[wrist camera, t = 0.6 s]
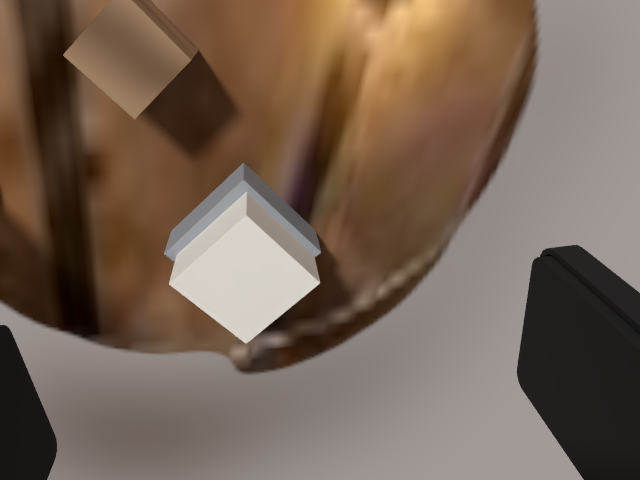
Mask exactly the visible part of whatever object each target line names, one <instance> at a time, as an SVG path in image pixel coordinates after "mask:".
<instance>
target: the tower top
mask: <svg viewBox="0 0 640 480" xmlns="http://www.w3.org/2000/svg"><path fill="white" fill-rule="evenodd" d="M319 284H320V279H319V275H318V270H317V266H316V262H315V257H314V254H313V253H312V252H310V251H309V250H308V249H307V248H306V247H305V246H304V245H303V244H302V243H301V242H300V241H299V240H298V239H297V238H296V237H295V236H294V235H292V234H291V233H290V232H289V231H288V230H287V229H286V228H285V227H284V226H283V225H282V224H281V223H280V222H279V221H278V220H277V219H276V218H274V217H273V216H272V215H271V214H270V213H269V212H268V211H267V210H266V209H265V208H264V207H263V206H262V205H261V204H260V203H259V202H258V201H257V200H255V199H254V198H253V197H252V196H251V195H250V194H249V193H248V192H245V193H244V194H243V195H242V196H241V197H240V198H239V199H238V200H237V201H236V202H234V203H233V204H232V205H231V206H230V207H229V208H228V209H227V210H226V211H224V212H223V213H222V214H221V215H220V216H219V217H218V218H217V219H216V220H215V221H213V222H212V223H211V224H210V225H209V226H208V227H207V228H206V229H205V230H203V231H202V232H201V233H200V234H199V235H198V236H197V237H196V238H195V239H194V240H192V241H191V242H190V243H189V244H188V245H187V246H186V247H185V248H184V249H182V250H181V251H180V252H179V253H178V254H177V256H176V260H175V263H174V267H173V271H172V275H171V278H170V282H169V285H171V286H172V287H173V288H175V289H176V290H177V291H178V292H180V293H181V294H182V295H184V296H185V297H186V298H188V299H189V300H190V301H191V302H193V303H194V304H195V305H197V306H198V307H199V308H200V309H202V310H203V311H204V312H206V313H207V314H208V315H210V316H211V317H212V318H213V319H215V320H216V321H217V322H219V323H220V324H221V325H222V326H224V327H225V328H226V329H228V330H229V331H230V332H232V333H233V334H234V335H235V336H237V337H238V338H239V339H241V340H242V341H243V342H245V343H248V342H249V341H250V340H251V339H252V338H254V337H255V336H256V335H257V334H259V333H260V332H261V331H262V330H264V329H265V328H266V327H267V326H268V325H270V324H271V323H272V322H273V321H275V320H276V319H277V318H278V317H279V316H281V315H282V314H283V313H284V312H286V311H287V310H288V309H289V308H291V307H292V306H293V305H294V304H295V303H297V302H298V301H299V300H300V299H302V298H303V297H304V296H305V295H307V294H308V293H309V292H310V291H311V290H313V289H314V288H315V287H316V286H318V285H319Z"/></svg>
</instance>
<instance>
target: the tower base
mask: <svg viewBox="0 0 640 480" xmlns="http://www.w3.org/2000/svg"><path fill="white" fill-rule="evenodd" d="M245 192H248V193H249V194H250V195H251V196H252V197H253V198H254V199H255V200H257V201H258V202H259V203H260V204H261V205H262V206H263V207H264V208H265V209H266V210H267V211H268V212H269V213H270V214H271V215H272V216H273V217H274V218H276V219H277V220H278V221H279V222H280V223H281V224H282V225H283V226H284V227H285V228H286V229H287V230H288V231H289V232H290V233H291V234H292V235H294V236H295V237H296V238H297V239H298V240H299V241H300V242H301V243H302V244H303V245H304V246H305V247H306V248H307V249H308V250H309V251H310V252H312V253H313V254H314V257H316V256H318V255H319V254H320V253H321V250H320V246H319V242H318V238H317V234H316V231H315V230H314V229H313V228H312V227H311V226H310V225H309V224H308V223H307V222H306V221H305V220H304V219H303V218H302V217H301V216H299V215H298V214H297V213H296V212H295V211H294V210H293V209H292V208H291V207H290V206H289V205H288V204H287V203H286V202H285V201H284V200H283V199H282V198H281V197H280V196H279V195H277V194H276V193H275V192H274V191H273V190H272V189H271V188H270V187H269V186H268V185H267V184H266V183H265V182H264V181H263V180H262V179H261V178H260V177H259V176H258V175H257V174H255V173H254V172H253V171H252V170H251V169H250V168H249V167H248V166H247V165H246V164H245V163H243V164H242V165H241V166H240V167H239V168H237V169H236V170H235V171H234V172H233V173H232V174H231V175H230V176H229V177H228V178H227V179H226V180H225V181H224V182H223V183H222V184H221V185H220V186H218V187H217V188H216V189H215V190H214V191H213V192H212V193H211V194H210V195H209V196H208V197H207V198H206V199H205V200H204V201H203V202H202V203H200V204H199V205H198V206H197V207H196V208H195V209H194V210H193V211H192V212H191V213H190V214H189V215H188V216H187V217H186V218H185V219H184V220H183V221H181V222H180V223H179V224H178V225H177V226H176V227H175V228H174V229H173V230H172V231H171V233H170V236H169V239H168V243H167V246H166V249H165V252H164V254H165V255H166V256H168V257H169V258H170V259H171V260H173V261H174V262H175V260H176V256H177V254H178V253H179V252H180V251H181V250H182V249H184V248H185V247H186V246H187V245H188V244H189V243H190V242H191V241H192V240H194V239H195V238H196V237H197V236H198V235H199V234H200V233H201V232H202V231H203V230H205V229H206V228H207V227H208V226H209V225H210V224H211V223H212V222H213V221H215V220H216V219H217V218H218V217H219V216H220V215H221V214H222V213H223V212H224V211H226V210H227V209H228V208H229V207H230V206H231V205H232V204H233V203H234V202H236V201H237V200H238V199H239V198H240V197H241V196H242V195H243V194H244V193H245Z"/></svg>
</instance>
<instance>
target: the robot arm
mask: <svg viewBox="0 0 640 480" xmlns="http://www.w3.org/2000/svg"><path fill="white" fill-rule="evenodd" d="M517 376H518V380H519V383H520V386H521V388H522V390H523V391H524V393H525V394H526V396H527V397H528V399H529V400H530V401H531V403H532V404H533V406H534V407H535V409H536V410H537V412H538V413H539V414H540V416H541V418H542V419H543V420H544V422H545V423H546V425H547V426H548V428H549V429H550V431H551V432H552V434H553V435H554V437H555V438H556V439H557V441H558V443H559V444H560V445H561V447H562V448H563V450H564V451H565V453H566V454H567V456H568V457H569V459H570V460H571V462H572V463H573V465H574V466H575V467H576V469H577V470H578V472H579V473H580V475H581V476H582V478H583V479H584V480H640V293H639V292H638V291H636V290H635V289H634V288H633V287H631V286H630V285H629V284H628V283H626V282H625V281H624V280H622V279H621V278H620V277H619V276H617V275H616V274H615V273H613V272H612V271H611V270H610V269H608V268H607V267H606V266H605V265H604V264H602V263H601V262H600V261H598V260H597V259H596V258H595V257H593V256H592V255H591V254H590V253H588V252H587V251H586V250H585V249H583V248H582V247H580V246H578V245H572V246H564V247H555V248H548V249H545V250H543V252H542V254H541V255H540V257H538V258H536V259H535V260H534V261H533V264H532V269H531V276H530V283H529V290H528V297H527V303H526V311H525V317H524V325H523V332H522V339H521V345H520V352H519V359H518V366H517ZM56 452H57V442H56V437H55V434H54V432H53V430H52V427H51V425H50V422H49V420H48V418H47V416H46V413H45V411H44V408H43V406H42V403H41V401H40V399H39V397H38V394H37V392H36V389H35V387H34V385H33V382H32V380H31V377H30V375H29V373H28V370H27V368H26V366H25V363H24V361H23V358H22V356H21V354H20V351H19V349H18V347H17V344H16V342H15V339H14V337H13V335H12V332H11V331H10V329H9V328H8V327H7V326H5V325H0V480H47V478H48V476H49V473H50V471H51V468H52V466H53V463H54V460H55V457H56Z"/></svg>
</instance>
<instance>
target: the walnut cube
mask: <svg viewBox="0 0 640 480" xmlns="http://www.w3.org/2000/svg"><path fill="white" fill-rule="evenodd" d="M197 51H198V49H197V48H196V47H195V46H194V44H193V43H192V42H191V41H190V40H189V39H188V38H187V37H186V36H185V35H184V34H183V33H182V32H181V31H180V30H179V29H178V28H177V27H176V26H175V25H174V24H173V23H172V22H171V21H170V20H169V19H168V18H167V17H166V16H165V15H164V14H163V13H162V12H161V11H160V10H159V9H158V8H157V7H156V6H155V4H154V3H153V2H152V1H151V0H111V1H110V2H109V3H108V4H107V5H106V7H105V8H104V9H103V10H102V11H101V12H100V13H99V15H98V16H97V17H96V18H95V19H94V20H93V21H92V23H91V24H90V25H89V26H88V27H87V28H86V29H85V31H84V32H83V33H82V34H81V35H80V36H79V37H78V38H77V40H76V41H75V42H74V43H73V44H72V45H71V46H70V48H69V49H68V50H67V51H66V52H65V53H64V54H63V56H64V57H66V58H67V59H68V60H69V61H70V62H71V63H72V64H73V65H74V66H76V67H77V68H78V69H79V70H80V71H81V72H82V73H83V74H85V75H86V76H87V77H88V78H89V79H90V80H91V81H92V82H94V83H95V84H96V85H97V86H98V87H99V88H100V89H101V90H103V91H104V92H105V93H106V94H107V95H108V96H109V97H110V98H111V99H113V100H114V101H115V102H116V103H117V104H118V105H119V106H120V107H122V108H123V109H124V110H125V111H126V112H127V113H128V114H129V115H131V116H132V117H133V118H134V119H136V117H137V116H138V115H139V114H140V113H141V112H142V111H143V110H144V109H145V108H146V107H147V106H148V105H149V104H150V103H151V102H152V101H153V100H154V99H155V98H156V97H157V96H158V95H159V93H160V92H161V91H162V90H163V89H164V88H165V87H166V86H167V85H168V84H169V83H170V82H171V81H172V80H173V79H174V78H175V77H176V76H177V75H178V74H179V73H180V72H181V71H182V69H183V68H184V67H185V66H186V65H187V64H188V63H189V62H190V61H191V60H192V59H193V57H194V56H195V54H196V53H197Z"/></svg>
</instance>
